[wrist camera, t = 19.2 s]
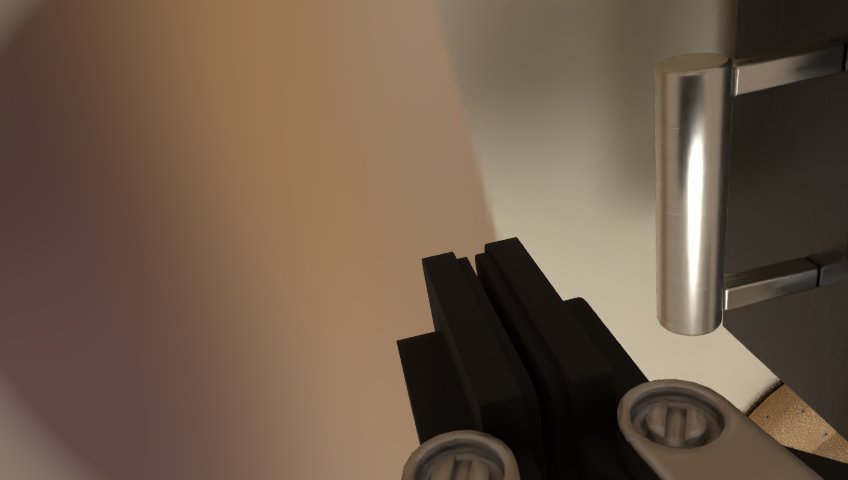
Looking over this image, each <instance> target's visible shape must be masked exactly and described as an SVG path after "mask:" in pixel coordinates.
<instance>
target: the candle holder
mask: <svg viewBox="0 0 848 480" xmlns="http://www.w3.org/2000/svg"><path fill="white" fill-rule="evenodd" d="M748 417H749V418H750V419H751V420H752V421H754V422H755V423H756V424H757V425H758V426H760V427H761V428H762V429H763V430H764V431H766V432H767V433H768V434H769V435H771V436H772V437H773V438H774V439H775V440H777V441H778V442H779V443H780V444H782V445H784V446H787V447H791V448H795V449H798V450H802V451H805V452H809V453H812V454H816V455H819V456H823V457H827V458H830V459H834V460H837V461H841V462H844V463H848V442H847V441H846V440H845V439H844V438H843V437H842V436H841V435H840V434H838V433H837V432H836V431H835V430H834V429H833V428H832V427H831V426H830V425H829V424H828V423H827V422H826V421H824V420H823V419H822V418H821V417H820V416H819V415H818V414H817V413H816V412H815V411H814V410H813V409H812V408H811V407H809V406H808V405H807V404H806V403H805V402H804V401H803V400H802V399H801V398H800V397H799V396H798V395H797V394H795V393H794V392H793V391H792V390H791V389H790V388H789V387H788V386H787V385H786V384H784V385H783V386H782V387H780V388H779V389H778V390H776V391H775V392H774V393H772V394H771V395H770V396H769V397H768V398H767V399H766V400H765V401H764V402H763V403H762V404H761V405H759V406H758V407H757V408H756V409H755V410H754V411H753V412H752V413H751V414H750V415H749V416H748Z"/></svg>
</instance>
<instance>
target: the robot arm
mask: <svg viewBox="0 0 848 480" xmlns="http://www.w3.org/2000/svg"><path fill="white" fill-rule="evenodd" d="M475 263H476V270H477V275H476V273H475V271H474V270H473V268H472V266H471V264H470V262H469V260H468V258H467V257H464V258H459V259H456V256H455V254H454V253H453V252H449V253H444V254H440V255H436V256H431V257H427V258H423V259H422V264H423V271H424V276H425V281H426V286H427V292H428V297H429V302H430V307H431V313H432V318H433V323H434V328H435V332H431V333H427V334H423V335H419V336H414V337H410V338H406V339H402V340H398V341H397V345H398V350H399V354H400V359H401V364H402V367H403V373H404V377H405V382H406V386H407V390H408V395H409V399H410V404H411V408H412V412H413V416H414V421H415V425H416V429H417V434H418V438H419V442H420V447H418V448H417V449H416V450H415V451H414V452H413V453H412V454H411V456H410V457H409V459H408V461H407V462H406V464H405V466H404V469H403V474H402V479H401V480H848V463H844V462H841V461H837V460H834V459H830V458H827V457H823V456H819V455H816V454H812V453H809V452H805V451H802V450H798V449H795V448H791V447H787V446H784V445H782V444H780V443H779V442H778V441H777V440H775V439H774V438H773V437H772V436H771V435H769V434H768V433H767V432H766V431H764V430H763V429H762V428H761V427H760V426H758V425H757V424H756V423H755V422H754V421H752V420H751V419H750V418H749V417H747V416H746V415H745V414H744V413H743V412H741V411H740V410H739V409H738V408H736V407H735V406H734V405H733V404H732V403H730V402H729V401H728V400H727V399H726V398H724V397H723V396H721V395H720V394H718V393H717V392H715V391H713V390H712V389H710V388H708V387H705V386H702V385H700V384H697V383H694V382H690V381H683V380H677V379H665V380H654V381H650V382H649V380H648V379H647V378H646V377H645V375H644V374H643V373H642V371H641V370H640V369H639V368H638V366H637V365H636V364H635V363H634V361H633V360H632V359H631V357H630V356H629V355H628V354H627V352H626V351H625V350H624V349H623V347H622V346H621V345H620V344H619V342H618V341H617V340H616V338H615V337H614V336H613V335H612V333H611V332H610V331H609V330H608V328H607V327H606V326H605V324H604V323H603V322H602V321H601V319H600V318H599V317H598V316H597V314H596V313H595V312H594V310H593V309H592V308H591V307H590V305H589V304H588V303H587V302H586V301H585V300H584V299H583V298H580V297H578V298H573V299H569V300H565V301H563V300H562V299H561V297H560V296H559V295H558V293H557V292H556V290H555V289H554V288H553V286H552V285H551V284H550V282H549V281H548V279H547V278H546V277H545V275H544V274H543V272H542V271H541V270H540V268H539V267H538V266H537V264H536V263H535V261H534V260H533V259H532V257H531V256H530V255H529V253H528V252H527V250H526V249H525V248H524V246H523V245H522V243H521V242H520V241H519V239H518V238H517V237H514V238H510V239H506V240H501V241H497V242H493V243H488V244H485V253H481V254H477V255H475Z"/></svg>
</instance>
